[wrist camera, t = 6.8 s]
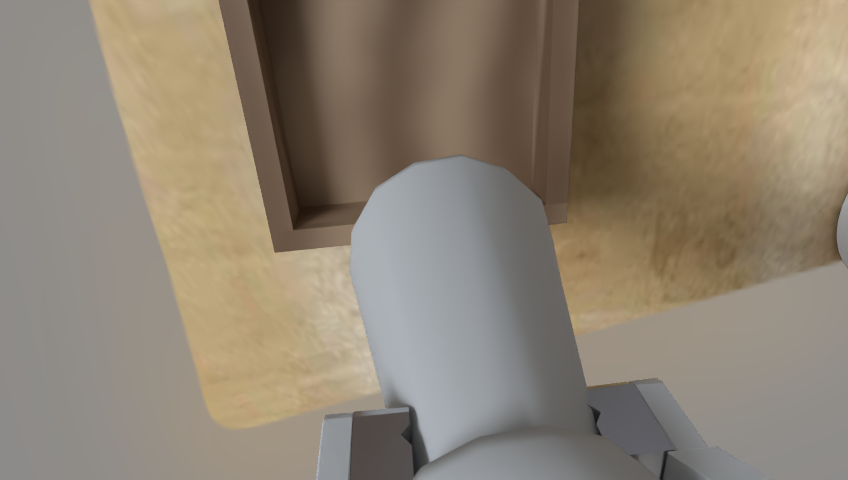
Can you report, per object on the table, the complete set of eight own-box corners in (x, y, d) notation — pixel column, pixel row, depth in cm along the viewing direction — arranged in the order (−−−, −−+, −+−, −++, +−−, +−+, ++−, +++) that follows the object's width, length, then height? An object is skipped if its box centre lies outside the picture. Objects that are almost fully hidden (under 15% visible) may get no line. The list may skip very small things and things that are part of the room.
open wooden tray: (539, -105, 29) (602, -129, 21) (532, 177, 37) (577, 237, 29) (236, -82, 29) (184, -98, 21) (292, 200, 36) (269, 269, 28)
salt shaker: (410, 97, 16) (507, 456, 4) (565, 186, 18) (932, 615, 6) (321, 254, 18) (227, 779, 6) (467, 320, 20) (602, 831, 8)
